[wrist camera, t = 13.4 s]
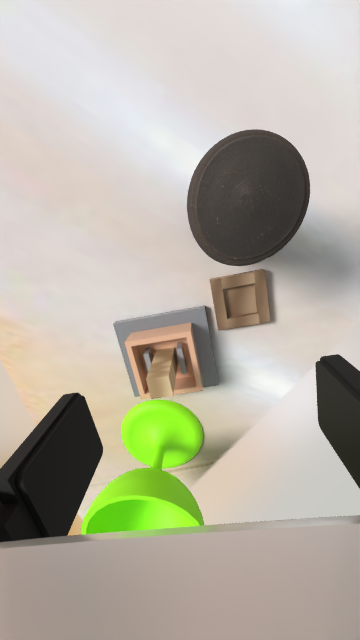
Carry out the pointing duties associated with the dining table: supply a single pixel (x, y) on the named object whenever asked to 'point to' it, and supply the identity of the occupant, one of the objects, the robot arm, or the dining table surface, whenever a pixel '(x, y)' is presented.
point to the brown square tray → (240, 299)
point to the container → (248, 197)
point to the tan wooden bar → (162, 373)
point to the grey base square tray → (165, 332)
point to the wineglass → (151, 473)
